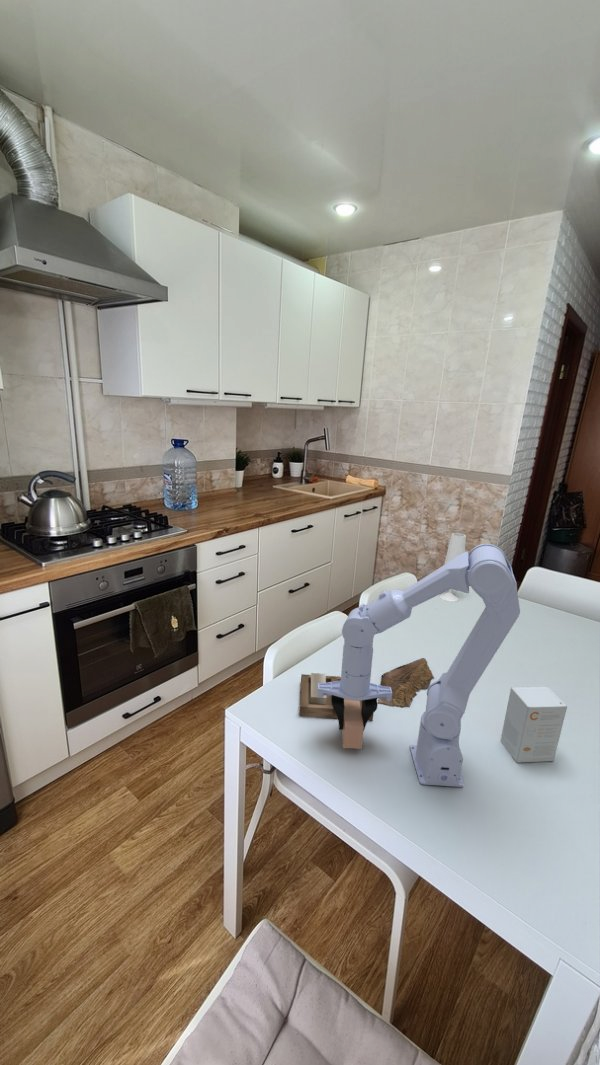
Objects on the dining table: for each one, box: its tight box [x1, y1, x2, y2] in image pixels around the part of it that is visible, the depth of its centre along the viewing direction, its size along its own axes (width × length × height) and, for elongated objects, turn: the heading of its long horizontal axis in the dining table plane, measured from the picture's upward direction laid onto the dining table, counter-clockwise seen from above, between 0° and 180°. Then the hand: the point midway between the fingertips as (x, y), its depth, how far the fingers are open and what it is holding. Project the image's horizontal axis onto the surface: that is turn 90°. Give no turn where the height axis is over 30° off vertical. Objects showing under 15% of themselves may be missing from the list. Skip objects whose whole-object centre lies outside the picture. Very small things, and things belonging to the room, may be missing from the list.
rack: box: [299, 672, 374, 722], centre depth 103 cm, size 16×12×4 cm
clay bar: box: [341, 700, 365, 750], centre depth 91 cm, size 8×4×5 cm, turn 179°
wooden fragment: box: [377, 657, 435, 708], centre depth 112 cm, size 26×11×1 cm, turn 140°
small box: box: [500, 686, 568, 763], centre depth 89 cm, size 8×6×13 cm
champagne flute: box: [439, 532, 467, 603], centre depth 160 cm, size 7×7×24 cm
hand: (351, 726), depth 91 cm, fingers closed on clay bar, 4 cm apart
